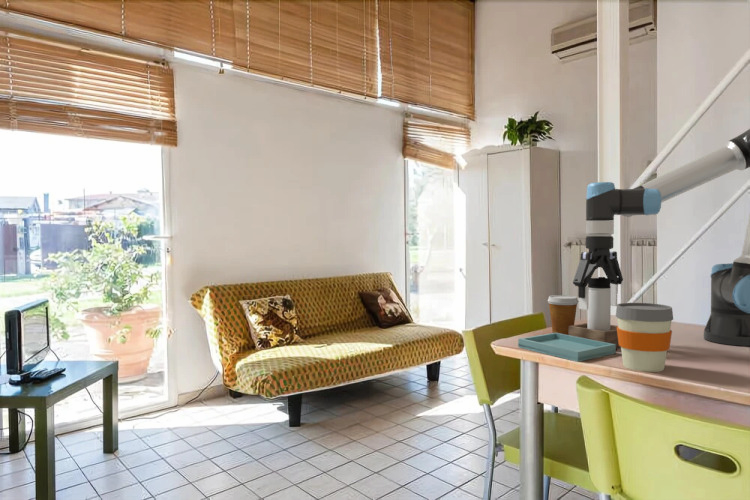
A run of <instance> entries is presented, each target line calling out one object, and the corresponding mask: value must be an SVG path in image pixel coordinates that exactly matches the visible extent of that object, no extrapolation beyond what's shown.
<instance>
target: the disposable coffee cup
mask: <svg viewBox="0 0 750 500" xmlns="http://www.w3.org/2000/svg"><path fill="white" fill-rule="evenodd" d="M547 303H548V306H549V314H550V322H551V330H552V332H551V333H560V334H565V335H569V326H572V325H575V321H576V313H577V307H578V305H579V299H578V297H577V296H574V295H568V294H567V295H564V294H563V295H562V294H560V295H559V294H557V295H555V294H554V295H549V296H548V299H547Z"/></svg>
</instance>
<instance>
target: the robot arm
mask: <svg viewBox="0 0 750 500" xmlns="http://www.w3.org/2000/svg"><path fill="white" fill-rule="evenodd" d="M749 168H750V128H748V129H747V130H746V131H743V132H742V133H741V134H739V135H737V136H735V137H734V138H731V139H729V140H727V141H725V143H724V145H723V146H722V147H720V148H718V149H716V150H714V151H711V152H709V153H708V154H705V155H703V156H701V157H699V158H697V159H695V160H692V161H690V162H687V163H685V164H684V165H682V166H679V167H677V168H675V169H672V170H671V171H668V172H666V173H664V174H662V175H660V176H658V177H655V178H653V179H650V180H649V181H647V182H644V183H642V184H640V185H638V186H636V187H634V188H623V189H621V188H616V187H615V186H616V185H615V183H614V182H612V181H611V182H610V181H601V182H600V181H597V182H591V183H588V185H587V187H586V196H585V197H586V198H585V200H586V201H585V203H586V204H585V206H586V207H585V220H586V221H585V235H587V236H585V248H586V249H587V250H588V251H587V252H586V251H584V252H583V251H582V252H581V253H580V259H579V263H578V266H577V268H576V271H575V275H574V278H573V280H572V284H573V285H574V286H575V287H577V288H578V289H577V291H578V292H577V293H578V295H577V296H578V297H577V298H578V301H579V302H578V309H579V310H584V311H587V310H588V305H589V287H588V283H589V281H590V279H591V278H593V275H594V272H596V270H597V269H599V268H601V269H602V270H603V272H604V274H605V276H606V278H611V284H610V288H611V289H610V290H611V307H617V304H618V292H619V291H618V288H619V285H622V284H623V281H624V277H623V274H622V271H621V267H620V264H619V259H618V253H617V251H616V250H615V251H612V249H614V237H613V236H612V235H613V234H615V229H614V227H615V218H614V217H615V216H623V217H627V218H629V217H632V216H652V215H653V216H655V215H658V214H659V213H660V212H661V211H660V210H661V208H662V203H664V202H666V201H668V200H671V199H673V198H675V197H677V196H679V195H683V194H684V193H687V192H689V191H690V190H694V189H695V188H697V187H700V186H702V185H704V184H707V183H709V182H711V181H714V180H715V179H718V178H720V177H722V176H724V175H727V174H729V173H731V172H733V171H736V170H738V171H744V170H746V169H749ZM610 250H611V251H610ZM710 272H711V273H710V315H709V317H708V320H707V322H706V325H705V327H704V330H703V339H704V340H706V341H709V342H712V343H718V344H722V345H723V344H724V345H729V346H730V345H731V346H739V347H740V346H741V347H743V346H744V347H750V213H749V215H748V220H747V225H746V231H745V236H744V240H743V245H742V252H741V255H740V256H739V257H737V258H735V259H734V260H733V262H732V263H718V264H714V265H713V266H712V267H711V271H710Z"/></svg>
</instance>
